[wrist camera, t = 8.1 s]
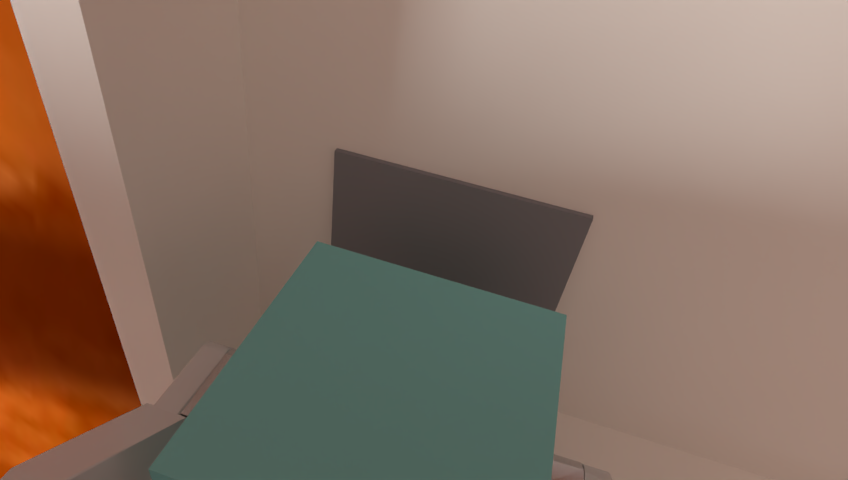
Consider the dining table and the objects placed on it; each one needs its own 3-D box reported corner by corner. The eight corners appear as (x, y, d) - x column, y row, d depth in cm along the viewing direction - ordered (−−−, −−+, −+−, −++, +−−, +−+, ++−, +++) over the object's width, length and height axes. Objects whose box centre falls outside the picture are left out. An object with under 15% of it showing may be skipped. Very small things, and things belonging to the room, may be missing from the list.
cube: (313, 392, 14) (197, 608, 10) (317, 241, 11) (147, 469, 7) (504, 456, 13) (459, 714, 9) (566, 314, 10) (538, 613, 6)
